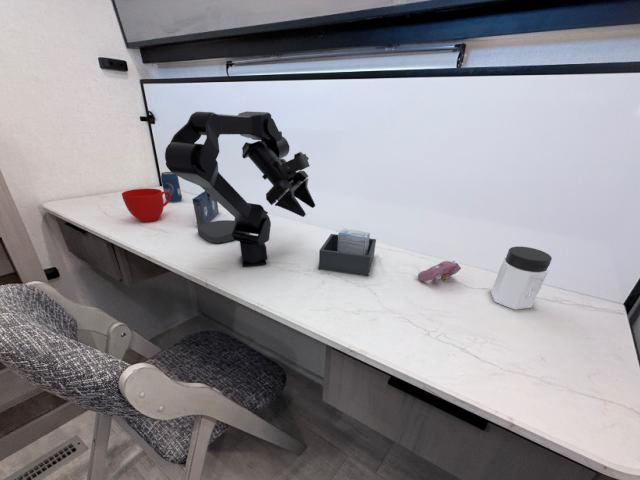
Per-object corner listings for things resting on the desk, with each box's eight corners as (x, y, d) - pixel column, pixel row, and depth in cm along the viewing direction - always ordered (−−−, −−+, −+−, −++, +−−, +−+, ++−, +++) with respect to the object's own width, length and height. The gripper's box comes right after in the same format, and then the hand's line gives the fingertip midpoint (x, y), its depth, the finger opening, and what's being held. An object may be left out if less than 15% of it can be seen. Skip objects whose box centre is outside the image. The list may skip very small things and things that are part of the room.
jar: (506, 311, 68) (527, 262, 62) (482, 293, 75) (499, 247, 68) (539, 307, 70) (563, 259, 63) (513, 290, 76) (532, 245, 70)
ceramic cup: (184, 216, 120) (178, 190, 115) (142, 227, 108) (134, 198, 102) (163, 210, 126) (157, 185, 120) (122, 220, 113) (113, 192, 108)
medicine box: (367, 261, 88) (370, 232, 83) (363, 267, 84) (366, 237, 79) (341, 256, 90) (343, 227, 85) (336, 262, 86) (338, 232, 82)
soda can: (162, 202, 136) (156, 173, 130) (171, 198, 142) (165, 171, 136) (177, 203, 136) (171, 174, 129) (185, 199, 141) (180, 172, 135)
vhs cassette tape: (213, 212, 125) (209, 187, 120) (220, 213, 125) (216, 187, 120) (196, 227, 109) (190, 199, 104) (204, 227, 109) (199, 199, 104)
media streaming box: (213, 245, 95) (211, 236, 94) (194, 233, 104) (193, 224, 103) (254, 236, 103) (253, 227, 102) (233, 225, 113) (232, 217, 111)
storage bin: (318, 269, 83) (319, 250, 80) (330, 250, 95) (330, 233, 92) (368, 276, 81) (370, 257, 78) (373, 256, 92) (376, 239, 89)
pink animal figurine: (424, 290, 78) (439, 273, 72) (414, 276, 80) (428, 259, 74) (451, 283, 82) (467, 266, 76) (442, 270, 84) (457, 253, 78)
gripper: (275, 144, 67) (322, 199, 71) (301, 138, 83) (338, 184, 86) (246, 178, 73) (290, 228, 77) (275, 167, 89) (311, 209, 92)
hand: (309, 211), depth 83 cm, fingers open, 9 cm apart
